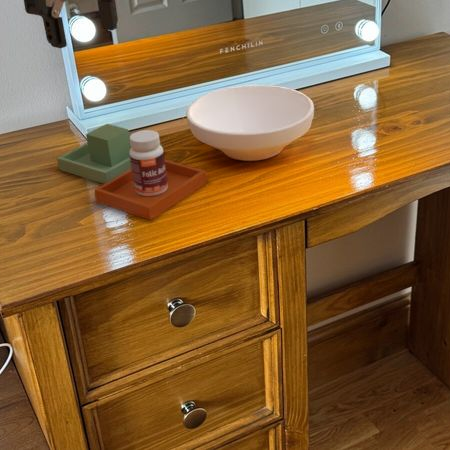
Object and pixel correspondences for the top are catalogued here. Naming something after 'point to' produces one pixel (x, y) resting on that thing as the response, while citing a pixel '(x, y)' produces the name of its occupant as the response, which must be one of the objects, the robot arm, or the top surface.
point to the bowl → (250, 120)
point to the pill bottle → (148, 163)
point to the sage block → (109, 145)
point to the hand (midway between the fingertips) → (85, 37)
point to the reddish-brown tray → (151, 205)
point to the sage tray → (91, 165)
